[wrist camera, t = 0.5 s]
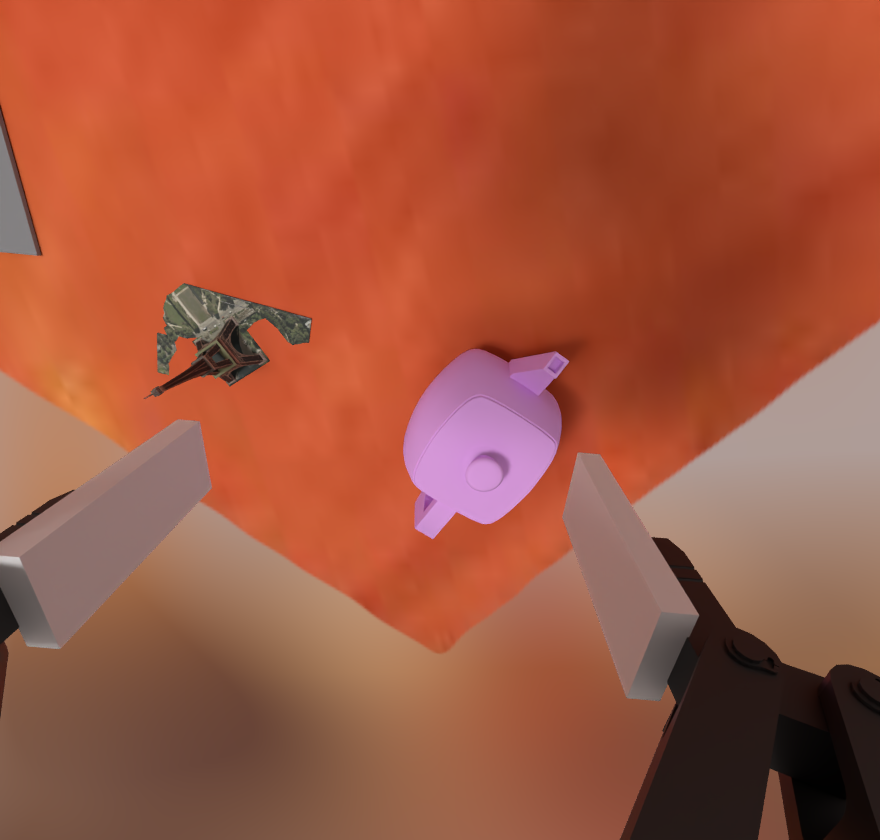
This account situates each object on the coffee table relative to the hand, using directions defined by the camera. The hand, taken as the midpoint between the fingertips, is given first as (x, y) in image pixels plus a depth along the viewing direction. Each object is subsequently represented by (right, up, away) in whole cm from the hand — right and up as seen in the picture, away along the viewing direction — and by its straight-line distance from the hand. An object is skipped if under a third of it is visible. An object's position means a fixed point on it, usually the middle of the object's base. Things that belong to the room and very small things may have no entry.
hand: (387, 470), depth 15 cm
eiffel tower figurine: (-19, +9, +28) cm, 35 cm away
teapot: (+6, +3, +29) cm, 30 cm away
